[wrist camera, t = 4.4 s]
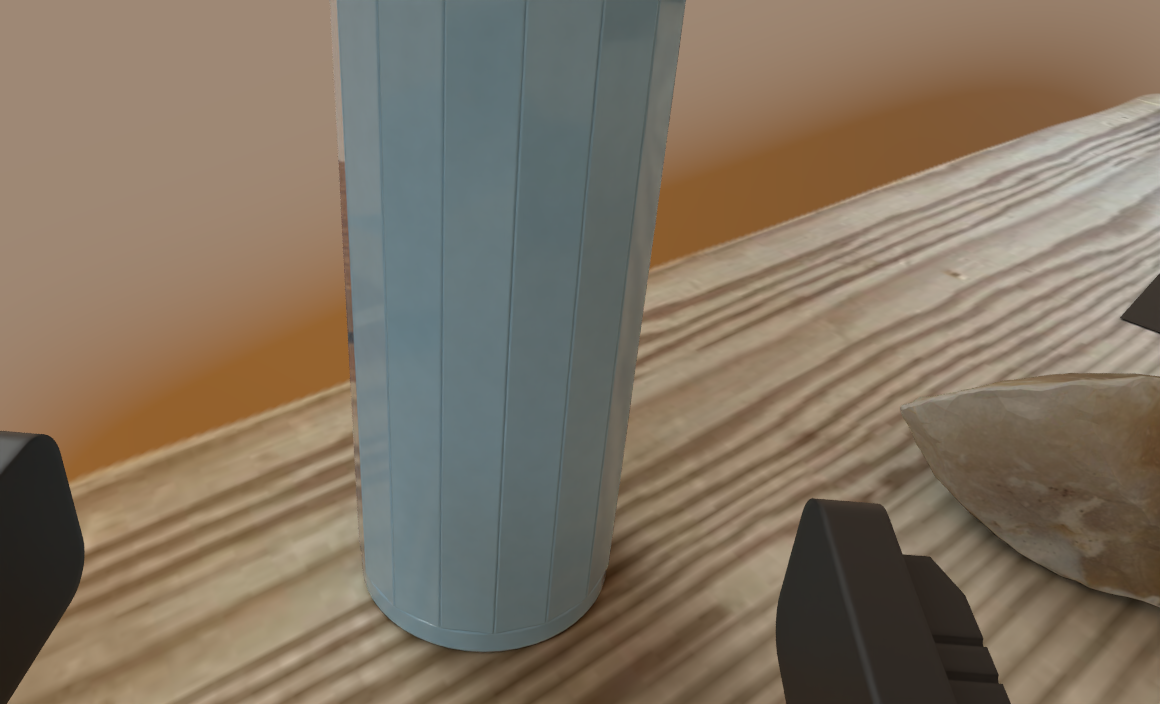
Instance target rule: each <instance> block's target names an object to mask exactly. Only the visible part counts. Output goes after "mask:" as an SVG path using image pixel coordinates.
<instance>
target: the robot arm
mask: <svg viewBox="0 0 1160 704" xmlns="http://www.w3.org/2000/svg"><path fill="white" fill-rule="evenodd" d="M83 565H84V541H83V537H82V533H81V529H80V525H79V521H78V518H77V514H76V510H75V506H74V502H73V499H72V495H71V491H70V487H69V483H68V480H67V476H66V472H65V468H64V465H63V461H62V457H61V453H60V450H59V447H58V445H57V444H56V442H55V441H54V440H53V438H51V437H50V436H48V435H44V434H32V433H20V432H9V431H8V432H7V431H0V704H7V703H8V701H9V700H10V698H11V696H12V695H13V693H14V692H15V690H16V688H17V687H18V685H19V684H20V682H21V681H22V679H23V677H24V676H25V674H26V673H27V671H28V669H29V668H30V666H31V665H32V663H33V661H34V660H35V658H36V657H37V655H38V654H39V652H40V650H41V649H42V647H43V646H44V644H45V642H46V641H47V639H48V638H49V636H50V634H51V633H52V631H53V630H54V628H55V626H56V625H57V623H58V622H59V620H60V619H61V617H62V615H63V614H64V612H65V611H66V609H67V607H68V606H69V604H70V603H71V601H72V599H73V597H74V595H75V593H76V591H77V588H78V586H79V583H80V579H81V576H82V571H83ZM776 647H777V656H778V662H779V667H780V672H781V678H782V683H783V688H784V694H785V699H786V704H1011V703H1010V701H1009V698H1008V696H1007V694H1006V691H1005V689H1004V687H1003V684H999V683H998V672H997V670H996V668H995V665H994V663H993V660H992V658H991V656H990V653H989V651H988V649H987V647H983V637H982V634H981V632H980V630H979V627H978V625H977V623H976V620H975V618H974V615H973V613H972V611H971V608H970V606H969V604H968V601H967V599H966V596H965V595H964V594H963V593H962V591H961V590H960V589H959V588H958V587H957V586H956V585H955V584H954V583H953V582H952V580H951V579H950V578H949V577H948V576H947V575H946V574H945V573H944V572H943V571H942V569H941V568H940V567H939V566H938V565H937V564H936V563H935V562H934V561H933V560H932V559H931V557H927V556H915V555H902V552H901V549H900V546H899V544H898V541H897V538H896V535H895V533H894V530H893V527H892V524H891V522H890V519H889V516H888V514H887V512H886V510H885V508H884V507H883V506H882V505H880V504H875V503H863V502H851V501H838V500H826V499H813V498H812V499H810V500H809V501H808V502H807V503H806V505H805V507H804V510H803V513H802V516H801V520H800V523H799V527H798V530H797V534H796V538H795V541H794V545H793V549H792V552H791V556H790V560H789V563H788V567H787V570H786V574H785V578H784V581H783V585H782V589H781V592H780V596H779V601H778V607H777V616H776Z"/></svg>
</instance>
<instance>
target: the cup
mask: <svg viewBox="0 0 1160 704" xmlns="http://www.w3.org/2000/svg"><path fill="white" fill-rule="evenodd" d="M685 2H686V0H330V15H331V32H332V52H333V70H334V88H335V107H336V126H337V143H338V162H339V180H340V199H341V215H342V216H341V218H342V236H343V254H344V273H345V290H346V309H347V326H348V327H347V328H348V346H349V365H350V383H351V401H352V420H353V438H354V456H355V475H356V493H357V511H358V530H359V542H360V547H361V553H362V568H363V576H364V580H365V583H366V586H367V589H368V591H369V593H370V595H371V597H372V599H373V600H374V601H375V603H376V604H377V606H378V607H379V608H380V610H381V611H382V612H383V613H384V614H385V615H386V616H387V617H388V618H389V619H390V620H391V621H392V622H394V623H395V624H396V625H398V626H399V627H400V628H402V629H403V630H405V631H407V632H408V633H410V634H412V635H414V636H416V637H417V638H420V639H422V640H425V641H427V642H430V643H432V644H435V645H439V646H443V647H446V648H450V649H456V650H462V651H473V652H497V651H507V650H513V649H519V648H523V647H527V646H530V645H534V644H537V643H539V642H542V641H545V640H547V639H550V638H552V637H554V636H555V635H557V634H559V633H561V632H563V631H565V630H566V629H567V628H569V627H570V626H572V625H573V624H574V623H576V622H577V621H578V620H579V619H580V618H581V617H582V616H583V615H584V614H585V613H586V612H587V611H588V610H589V608H590V607H591V606H592V605H593V603H594V602H595V601H596V599H597V597H598V595H599V593H600V592H601V590H602V587H603V584H604V581H605V577H606V570H607V567H608V564H609V558H610V551H611V543H612V536H613V529H614V522H615V514H616V507H617V500H618V492H619V485H620V478H621V470H622V463H623V456H624V448H625V441H626V434H627V427H628V419H629V412H630V405H631V397H632V390H633V383H634V375H635V368H636V361H637V354H638V346H639V339H640V332H641V324H642V317H643V310H644V302H645V295H646V288H647V280H648V273H649V266H650V258H651V251H652V243H653V236H654V229H655V222H656V214H657V207H658V200H659V193H660V185H661V177H662V170H663V163H664V156H665V149H666V142H667V134H668V127H669V120H670V112H671V105H672V97H673V90H674V82H675V76H676V69H677V61H678V54H679V47H680V39H681V32H682V25H683V17H684V9H685Z"/></svg>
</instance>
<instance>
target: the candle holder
mask: <svg viewBox="0 0 1160 704" xmlns="http://www.w3.org/2000/svg"><path fill="white" fill-rule="evenodd" d="M1120 318H1122V319H1125V320H1128V321H1130V322H1133V323H1136V324H1138V325H1141V326H1144V327H1146V328H1149V329H1152V330H1154V331H1157V332H1160V274H1159V275H1158V276H1157V277H1156V278H1155V279H1154V281H1153V282H1152V283H1151V284H1150V285H1149V286H1148V287H1147V288H1146V289H1145V291H1144V292H1143V293H1142V294H1141V295H1140V296H1139V297H1138V298H1137V299H1136V301H1135V302H1134V303H1133V304H1132V305H1131V306H1130V307H1129V308H1128V309H1127V311H1126V312H1125V313H1124V314H1123V315H1122V316H1121V317H1120Z"/></svg>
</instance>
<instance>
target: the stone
mask: <svg viewBox="0 0 1160 704" xmlns="http://www.w3.org/2000/svg"><path fill="white" fill-rule="evenodd" d="M900 410H901V413H902V416H903V418H904V420H905V421H906V423H907V424H908V426H909V428H910V430H911V432H912V435H913V438H914V440H915V442H916V444H917V446H918V447H919V448H920V450H921V452H922V453H923V455H924V457H925V459H926V460H927V462H928V464H929V466H930V468H931V470H932V472H933V473H934V475H935V476H936V478H937V479H938V480H939V481H940V482H941V483H942V484H943V485H944V486H945V487H946V488H947V489H948V490H949V491H950V492H951V493H952V495H953V496H954V497H955V498H956V499H957V500H958V501H959V502H960V503H961V504H962V505H963V506H964V507H965V508H966V509H967V510H968V511H969V512H970V513H971V514H972V515H973V516H975V517H976V518H977V519H978V520H980V521H981V522H982V523H983V524H984V525H985V526H987V527H988V528H989V529H990V530H991V531H992V532H993V533H994V534H995V535H997V536H998V537H999V538H1001V539H1002V540H1003V541H1005V542H1006V543H1007V544H1009V545H1010V546H1011V547H1012V548H1014V549H1015V550H1016V551H1017V552H1018V553H1020V554H1022V555H1023V556H1025V557H1027V558H1029V559H1030V560H1032V561H1034V562H1036V563H1038V564H1040V565H1042V566H1044V567H1045V568H1047V569H1049V570H1051V571H1053V572H1054V573H1056V574H1058V575H1060V576H1062V577H1064V578H1068V579H1072V580H1075V581H1078V582H1080V583H1081V584H1083V585H1085V586H1087V587H1088V588H1091V589H1095V590H1099V591H1102V592H1105V593H1110V594H1114V595H1119V596H1125V597H1129V598H1133V599H1137V600H1141V601H1144V602H1147V603H1149V604H1152V605H1154V606H1157V607H1160V377H1159V376H1150V375H1142V374H1111V373H1087V374H1079V373H1068V374H1056V375H1046V376H1039V377H1031V378H1024V379H1017V380H1007V381H1000V382H996V383H993V384H990V385H984V386H980V387H976V388H972V389H967V390H962V391H958V392H953V393H948V394H943V395H937V396H928V397H919V398H917V399H916V400H915V401H913V402H912V403H909V404H905V405H902V406H901V407H900Z"/></svg>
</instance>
